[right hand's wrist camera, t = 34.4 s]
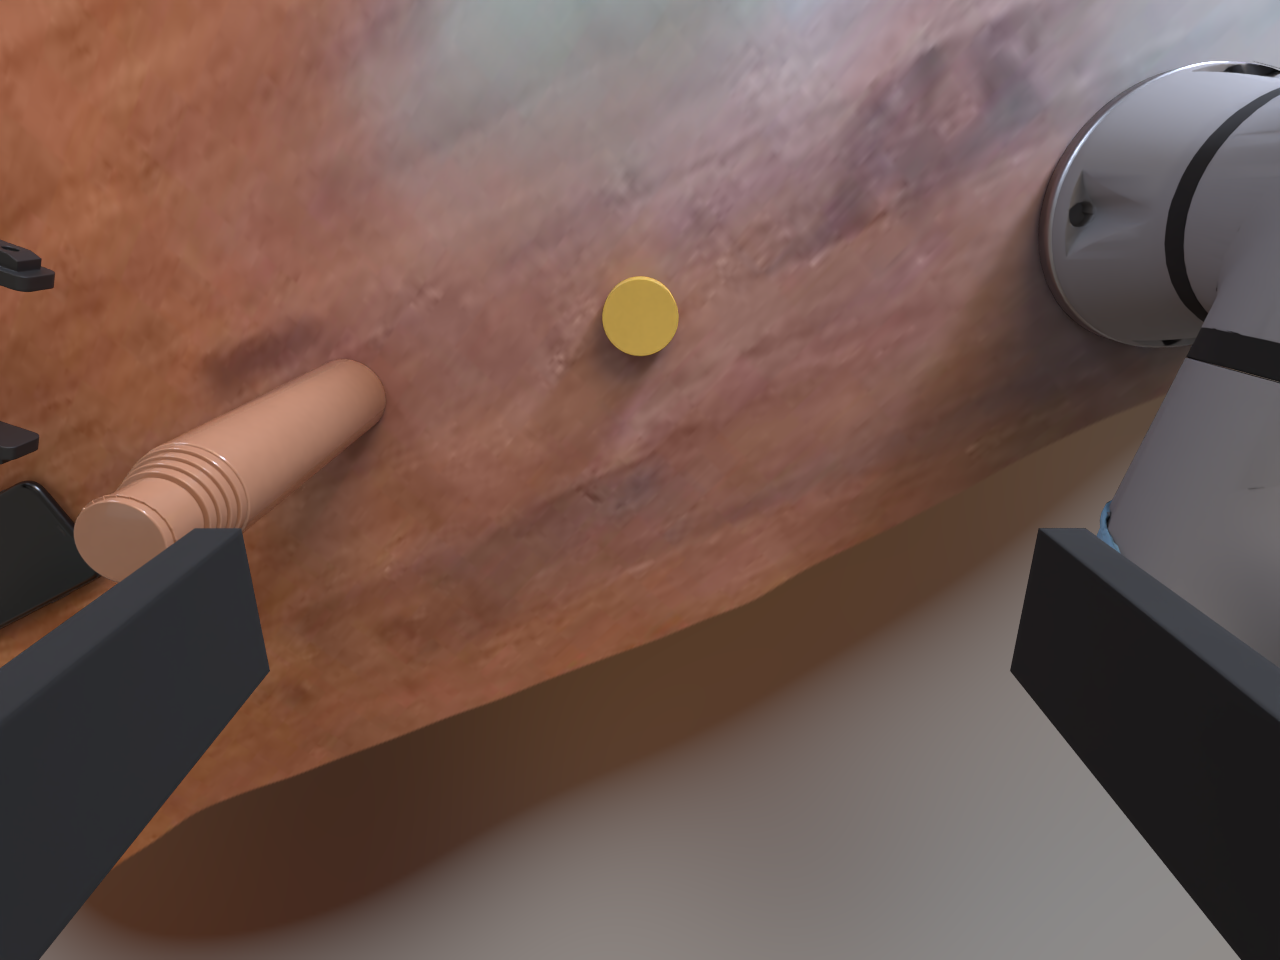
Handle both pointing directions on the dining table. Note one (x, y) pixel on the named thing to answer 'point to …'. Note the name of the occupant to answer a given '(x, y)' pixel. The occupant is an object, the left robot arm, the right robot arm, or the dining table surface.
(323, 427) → the bottle
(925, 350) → the dining table surface
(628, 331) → the cap
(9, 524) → the smartphone
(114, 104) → the dining table surface
